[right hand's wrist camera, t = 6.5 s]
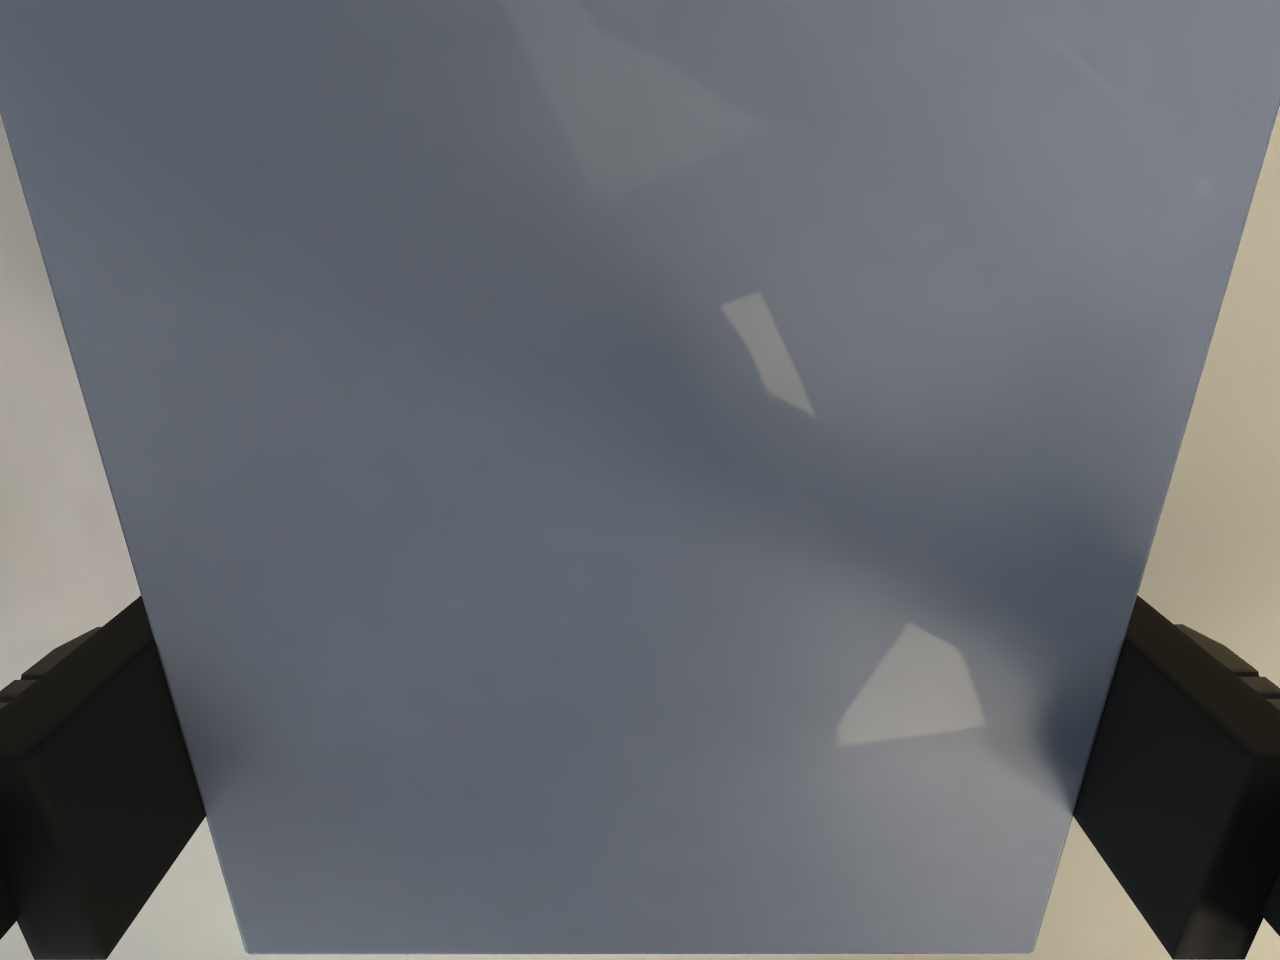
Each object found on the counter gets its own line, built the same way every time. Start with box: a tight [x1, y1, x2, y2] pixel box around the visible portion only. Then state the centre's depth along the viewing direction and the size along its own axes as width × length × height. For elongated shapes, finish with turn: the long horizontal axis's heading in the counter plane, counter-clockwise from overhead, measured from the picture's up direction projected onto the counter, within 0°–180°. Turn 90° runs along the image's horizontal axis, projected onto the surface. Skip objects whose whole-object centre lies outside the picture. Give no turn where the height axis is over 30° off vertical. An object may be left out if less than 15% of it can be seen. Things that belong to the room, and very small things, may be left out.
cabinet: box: [0, 0, 1280, 954], centre depth 12 cm, size 16×11×11 cm
